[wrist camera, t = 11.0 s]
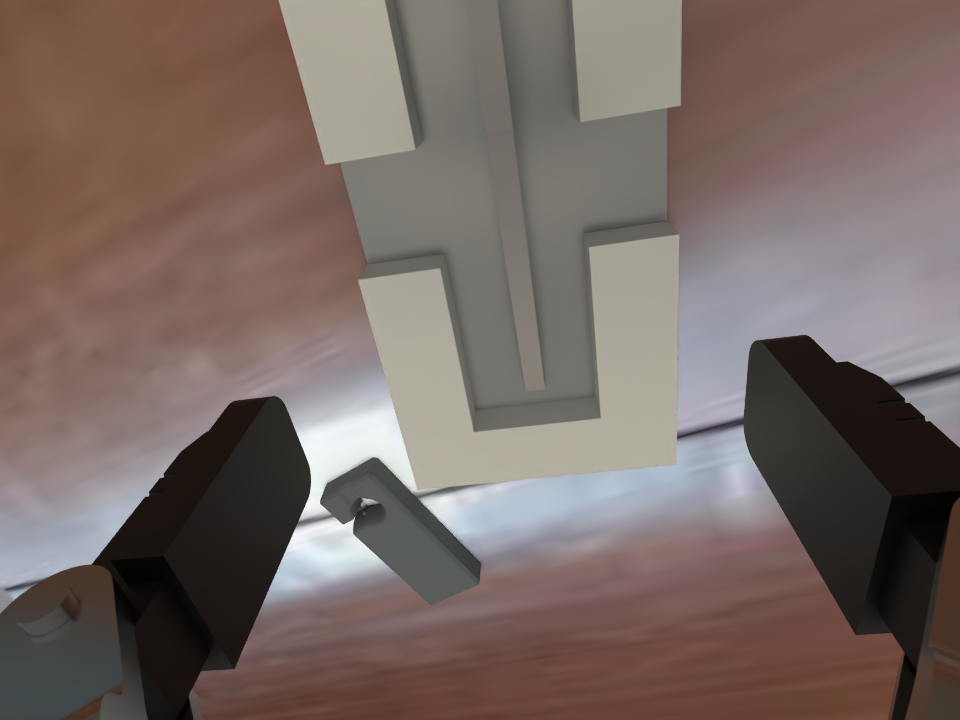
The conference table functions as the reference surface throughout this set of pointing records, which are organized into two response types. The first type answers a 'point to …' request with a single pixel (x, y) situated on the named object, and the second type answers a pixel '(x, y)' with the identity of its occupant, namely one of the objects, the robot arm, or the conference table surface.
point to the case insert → (477, 235)
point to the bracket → (402, 531)
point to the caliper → (505, 178)
